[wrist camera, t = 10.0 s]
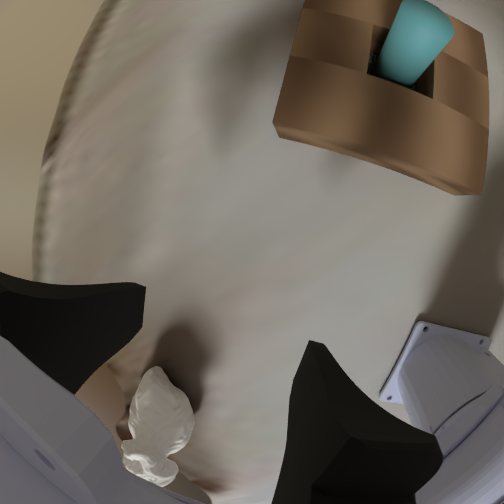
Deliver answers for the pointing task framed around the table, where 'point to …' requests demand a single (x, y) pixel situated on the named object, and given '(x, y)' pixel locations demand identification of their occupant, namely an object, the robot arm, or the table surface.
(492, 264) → the table surface
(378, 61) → the peg
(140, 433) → the bust
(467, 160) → the hole block
